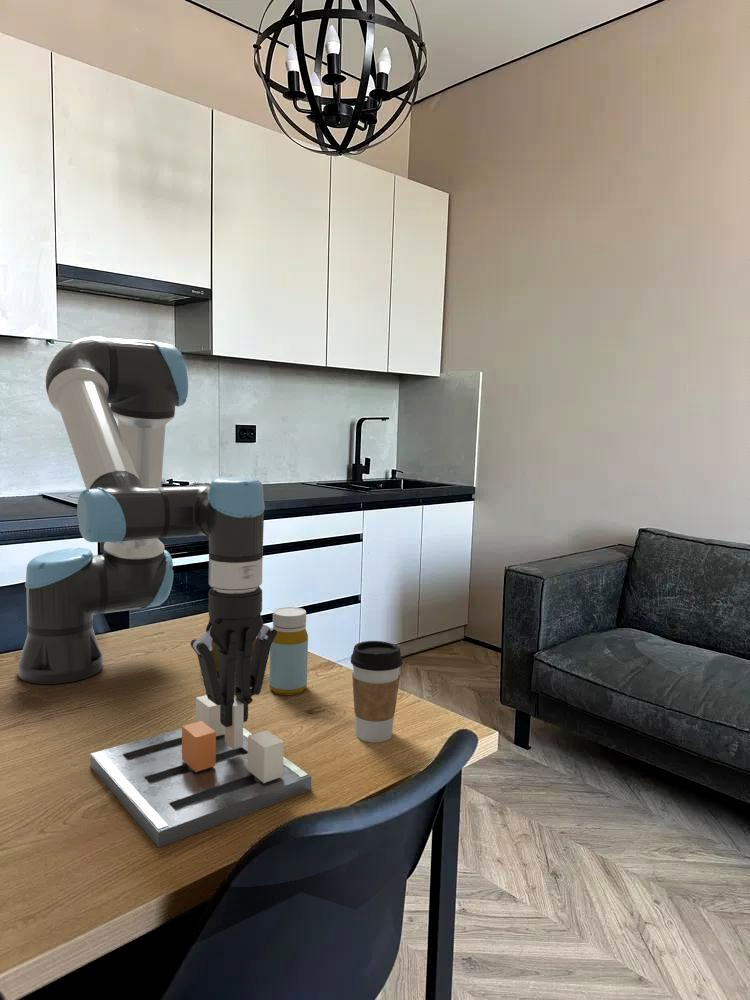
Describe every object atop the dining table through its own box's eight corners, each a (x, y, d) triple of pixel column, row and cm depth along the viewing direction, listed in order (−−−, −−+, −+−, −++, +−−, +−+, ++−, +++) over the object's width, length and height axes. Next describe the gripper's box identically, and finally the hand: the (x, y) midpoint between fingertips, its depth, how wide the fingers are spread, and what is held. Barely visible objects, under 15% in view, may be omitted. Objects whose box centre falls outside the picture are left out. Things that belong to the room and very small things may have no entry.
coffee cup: (362, 750, 110) (365, 657, 109) (339, 728, 118) (342, 640, 116) (408, 740, 114) (412, 650, 112) (384, 719, 122) (387, 635, 120)
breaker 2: (247, 776, 99) (247, 735, 98) (265, 769, 101) (266, 729, 100) (263, 789, 96) (264, 747, 95) (282, 782, 97) (283, 741, 97)
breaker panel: (90, 766, 103) (90, 752, 102) (227, 727, 117) (227, 715, 116) (158, 847, 84) (158, 831, 84) (311, 789, 99) (311, 775, 98)
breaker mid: (181, 765, 101) (181, 726, 100) (201, 759, 103) (201, 720, 102) (195, 778, 98) (195, 737, 97) (215, 772, 100) (215, 731, 99)
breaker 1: (195, 734, 111) (195, 697, 110) (213, 729, 113) (213, 693, 112) (208, 744, 108) (208, 707, 107) (226, 739, 110) (226, 702, 109)
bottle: (262, 692, 132) (263, 613, 130) (281, 679, 138) (282, 604, 136) (295, 698, 129) (297, 618, 127) (313, 685, 136) (315, 609, 134)
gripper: (205, 599, 94) (204, 768, 97) (288, 586, 102) (285, 742, 105) (181, 587, 99) (180, 747, 102) (261, 576, 108) (259, 724, 111)
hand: (233, 744), depth 104 cm, fingers closed
